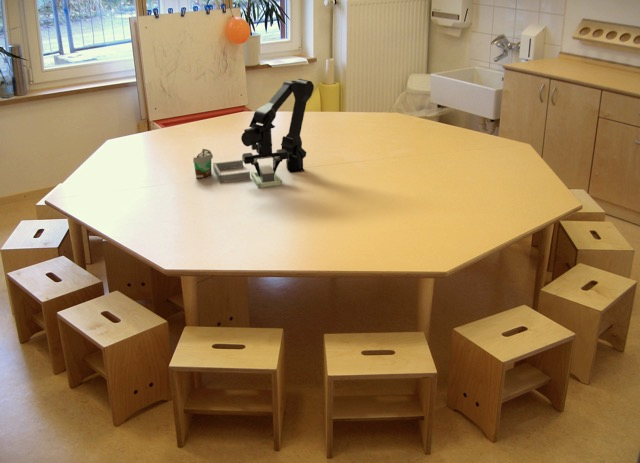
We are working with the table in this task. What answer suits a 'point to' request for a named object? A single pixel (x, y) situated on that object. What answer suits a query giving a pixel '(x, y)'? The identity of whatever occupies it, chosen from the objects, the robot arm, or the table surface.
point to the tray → (258, 182)
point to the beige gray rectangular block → (266, 173)
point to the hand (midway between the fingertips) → (266, 175)
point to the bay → (233, 175)
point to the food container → (203, 164)
